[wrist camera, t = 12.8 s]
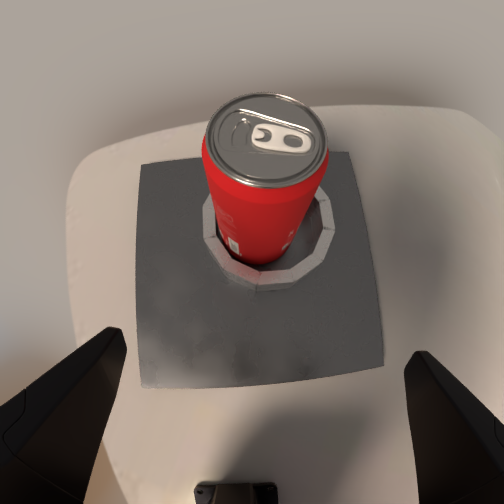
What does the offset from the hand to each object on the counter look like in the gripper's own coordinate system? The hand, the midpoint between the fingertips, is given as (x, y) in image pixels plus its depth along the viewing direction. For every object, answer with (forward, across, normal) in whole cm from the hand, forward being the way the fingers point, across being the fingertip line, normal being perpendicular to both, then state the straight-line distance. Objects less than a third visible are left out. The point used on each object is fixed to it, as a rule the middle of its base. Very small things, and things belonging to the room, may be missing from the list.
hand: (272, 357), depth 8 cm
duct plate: (+14, +1, +6) cm, 15 cm away
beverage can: (+15, +1, +4) cm, 15 cm away
